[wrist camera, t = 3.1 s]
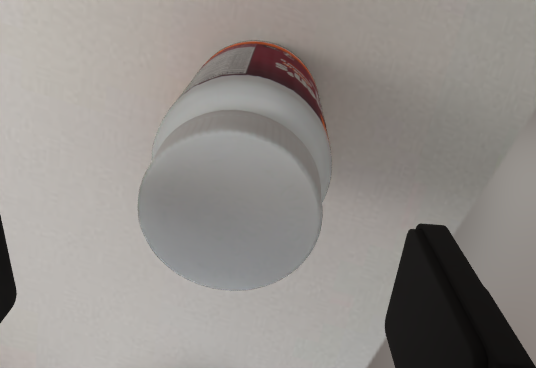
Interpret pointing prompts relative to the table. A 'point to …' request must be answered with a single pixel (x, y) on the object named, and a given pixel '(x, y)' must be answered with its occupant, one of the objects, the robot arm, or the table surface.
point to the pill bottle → (239, 171)
